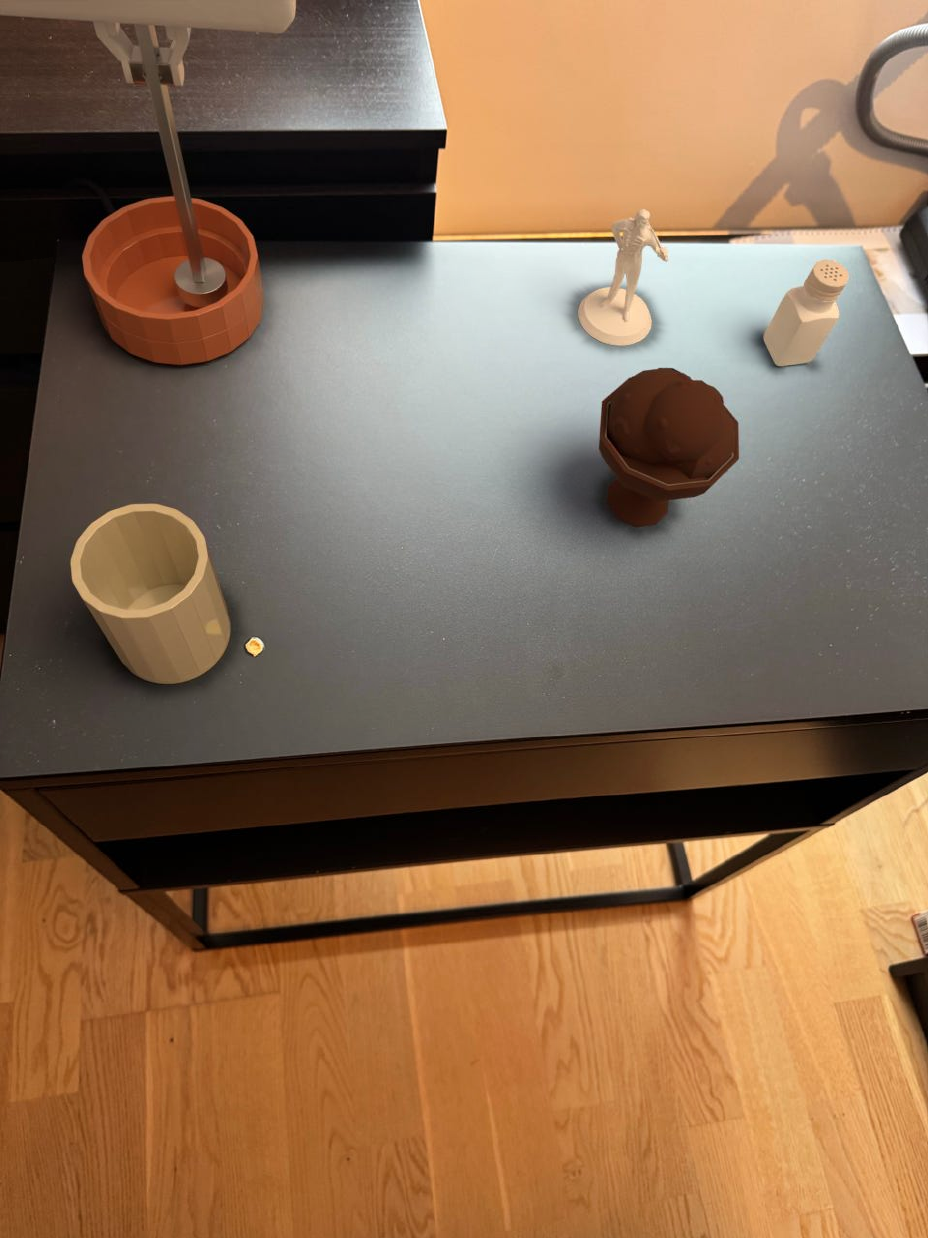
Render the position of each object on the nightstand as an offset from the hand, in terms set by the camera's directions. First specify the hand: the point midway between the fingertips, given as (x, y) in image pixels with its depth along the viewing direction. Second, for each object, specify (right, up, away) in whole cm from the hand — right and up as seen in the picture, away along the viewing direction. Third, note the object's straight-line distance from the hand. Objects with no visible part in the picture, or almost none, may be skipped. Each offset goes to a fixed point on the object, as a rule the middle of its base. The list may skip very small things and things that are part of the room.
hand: (156, 79), depth 63 cm
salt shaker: (+52, -12, +23) cm, 58 cm away
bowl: (-4, -10, +18) cm, 21 cm away
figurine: (+36, -9, +23) cm, 43 cm away
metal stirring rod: (-2, -8, +17) cm, 19 cm away
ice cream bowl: (+36, -28, +14) cm, 48 cm away
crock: (0, -39, +4) cm, 39 cm away
